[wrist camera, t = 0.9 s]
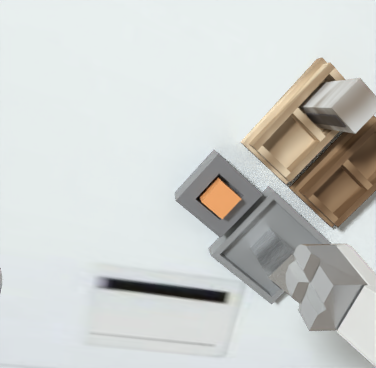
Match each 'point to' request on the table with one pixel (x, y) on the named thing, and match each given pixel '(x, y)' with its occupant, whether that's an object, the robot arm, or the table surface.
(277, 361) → the table surface
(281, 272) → the block
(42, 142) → the table surface
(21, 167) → the table surface
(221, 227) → the button console
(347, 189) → the pallet
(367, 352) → the robot arm
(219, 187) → the button
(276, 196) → the tray
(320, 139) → the tray
